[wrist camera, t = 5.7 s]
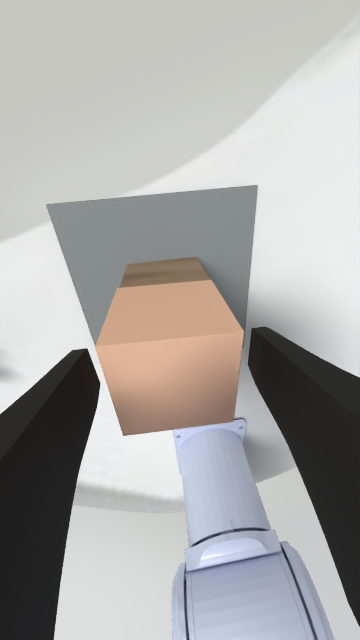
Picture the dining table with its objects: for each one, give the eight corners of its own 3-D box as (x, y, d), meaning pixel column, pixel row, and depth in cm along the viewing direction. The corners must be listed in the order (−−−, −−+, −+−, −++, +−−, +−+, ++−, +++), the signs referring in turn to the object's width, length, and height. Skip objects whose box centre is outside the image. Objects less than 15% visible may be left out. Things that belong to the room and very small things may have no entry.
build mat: (241, 346, 19) (243, 348, 19) (103, 363, 19) (102, 366, 18) (255, 185, 13) (257, 185, 13) (48, 204, 12) (45, 204, 12)
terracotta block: (209, 352, 13) (233, 421, 9) (132, 360, 13) (123, 435, 9) (211, 279, 11) (243, 331, 7) (117, 288, 10) (95, 346, 7)
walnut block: (198, 315, 17) (211, 353, 13) (139, 322, 17) (135, 363, 13) (196, 256, 15) (211, 281, 11) (127, 264, 14) (117, 291, 10)
